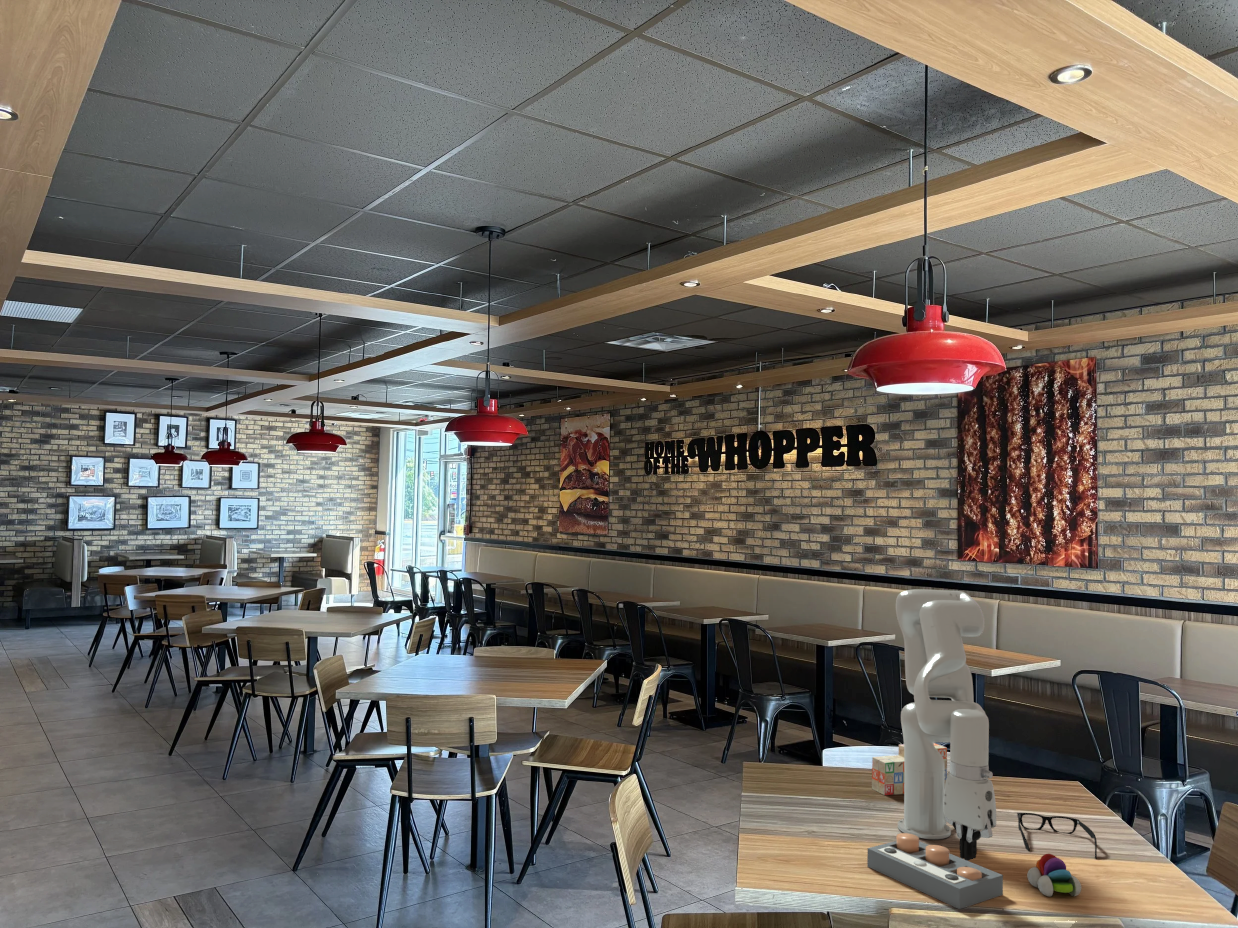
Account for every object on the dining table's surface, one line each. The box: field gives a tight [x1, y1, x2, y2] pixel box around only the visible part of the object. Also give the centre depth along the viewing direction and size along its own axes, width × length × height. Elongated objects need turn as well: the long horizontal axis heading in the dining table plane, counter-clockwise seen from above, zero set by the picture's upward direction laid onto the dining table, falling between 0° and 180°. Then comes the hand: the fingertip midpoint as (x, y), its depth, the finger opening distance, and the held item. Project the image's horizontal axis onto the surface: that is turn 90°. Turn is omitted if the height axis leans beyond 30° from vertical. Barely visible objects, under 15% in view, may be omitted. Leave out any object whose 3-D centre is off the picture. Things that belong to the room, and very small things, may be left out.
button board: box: [866, 840, 1004, 910], centre depth 188 cm, size 14×24×4 cm, turn 32°
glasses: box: [1016, 812, 1098, 860], centre depth 213 cm, size 16×18×5 cm
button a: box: [896, 832, 920, 854], centre depth 196 cm, size 5×5×3 cm
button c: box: [957, 867, 982, 881], centre depth 182 cm, size 5×5×3 cm
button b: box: [926, 844, 950, 867], centre depth 189 cm, size 5×5×3 cm
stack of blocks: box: [871, 743, 948, 796], centre depth 252 cm, size 21×6×12 cm, turn 109°
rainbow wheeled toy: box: [1026, 853, 1082, 897], centre depth 184 cm, size 8×10×7 cm
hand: (967, 857), depth 183 cm, fingers closed
